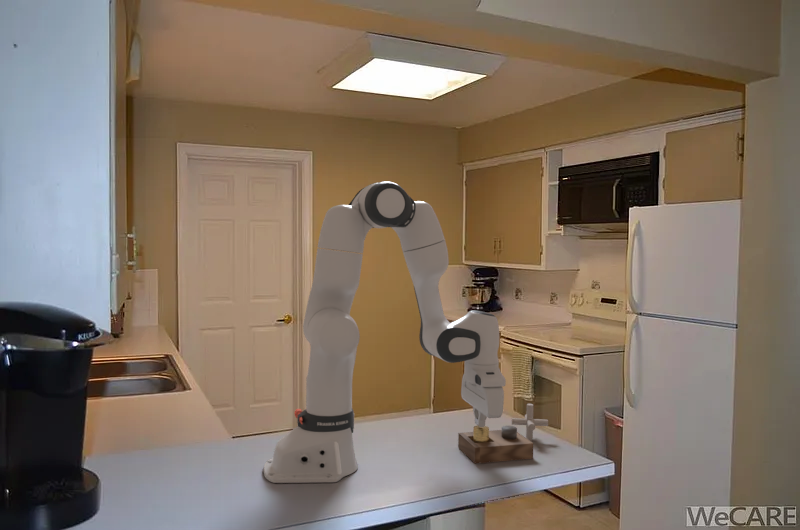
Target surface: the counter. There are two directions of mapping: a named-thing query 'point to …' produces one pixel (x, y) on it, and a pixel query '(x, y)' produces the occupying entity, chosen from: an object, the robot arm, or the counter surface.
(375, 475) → the counter surface
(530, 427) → the pipe connector
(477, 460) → the jig
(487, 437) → the tan cylinder
